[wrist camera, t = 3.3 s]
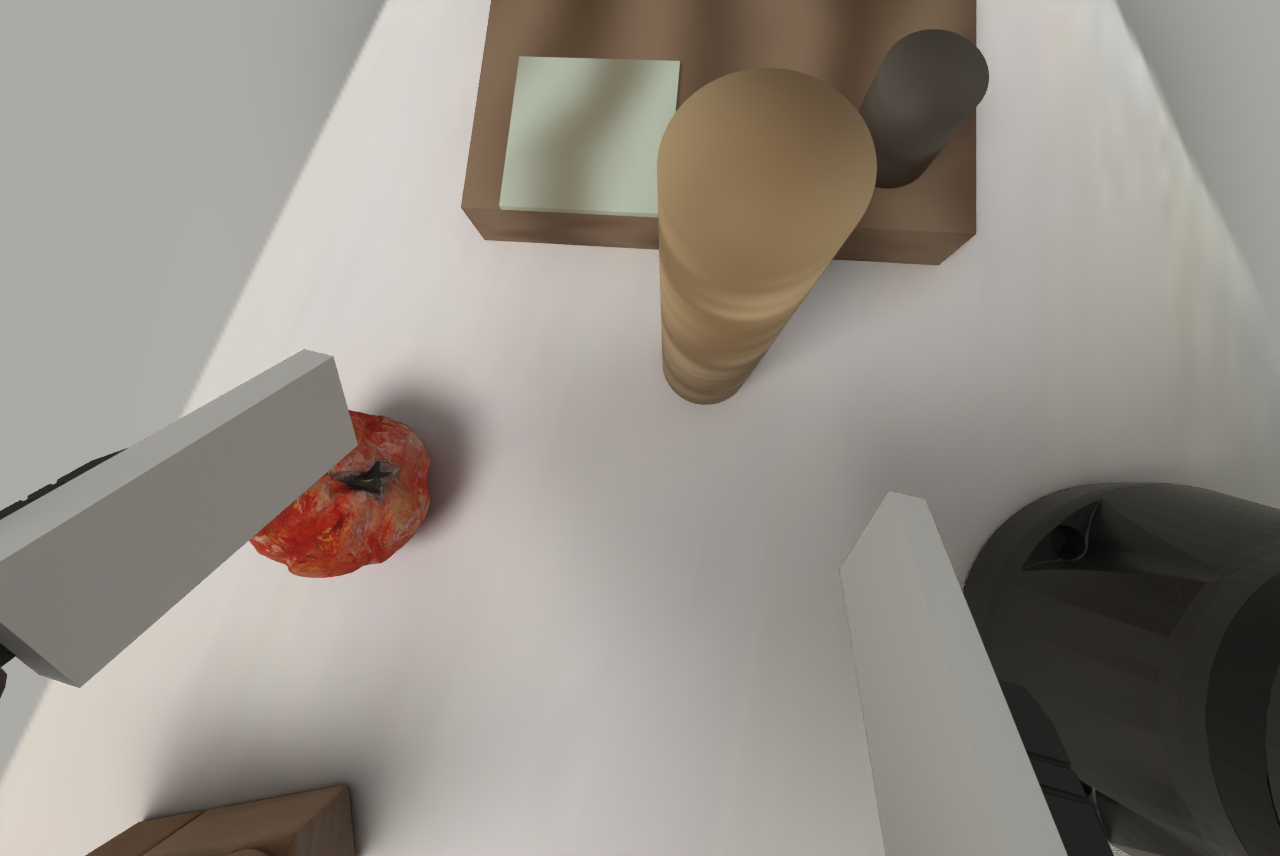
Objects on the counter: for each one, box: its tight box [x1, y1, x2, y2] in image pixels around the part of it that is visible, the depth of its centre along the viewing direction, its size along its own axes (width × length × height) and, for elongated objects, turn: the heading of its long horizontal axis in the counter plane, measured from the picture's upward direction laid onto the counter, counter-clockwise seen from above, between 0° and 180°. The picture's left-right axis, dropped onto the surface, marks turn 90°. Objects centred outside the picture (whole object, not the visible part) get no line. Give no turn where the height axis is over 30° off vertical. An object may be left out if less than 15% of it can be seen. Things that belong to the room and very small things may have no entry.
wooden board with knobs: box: [461, 0, 989, 265], centre depth 23 cm, size 24×18×7 cm
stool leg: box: [657, 68, 877, 404], centre depth 17 cm, size 4×4×15 cm
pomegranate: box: [249, 410, 430, 578], centre depth 21 cm, size 7×7×10 cm
